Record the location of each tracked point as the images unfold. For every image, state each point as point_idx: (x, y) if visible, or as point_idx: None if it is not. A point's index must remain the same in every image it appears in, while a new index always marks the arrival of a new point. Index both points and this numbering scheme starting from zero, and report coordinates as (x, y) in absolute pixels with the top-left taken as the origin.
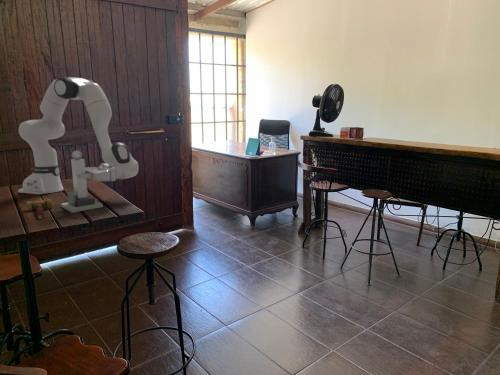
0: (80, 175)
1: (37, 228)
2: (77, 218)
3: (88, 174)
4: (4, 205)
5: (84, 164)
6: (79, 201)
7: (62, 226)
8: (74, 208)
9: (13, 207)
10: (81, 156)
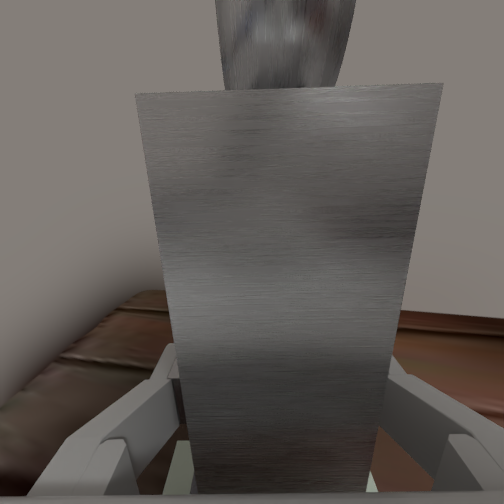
0: (170, 348)
1: (125, 324)
2: (66, 436)
3: (75, 443)
4: (444, 313)
5: (165, 246)
6: (192, 492)
7: (59, 364)
8: (183, 461)
9: (406, 323)
10: (216, 9)
